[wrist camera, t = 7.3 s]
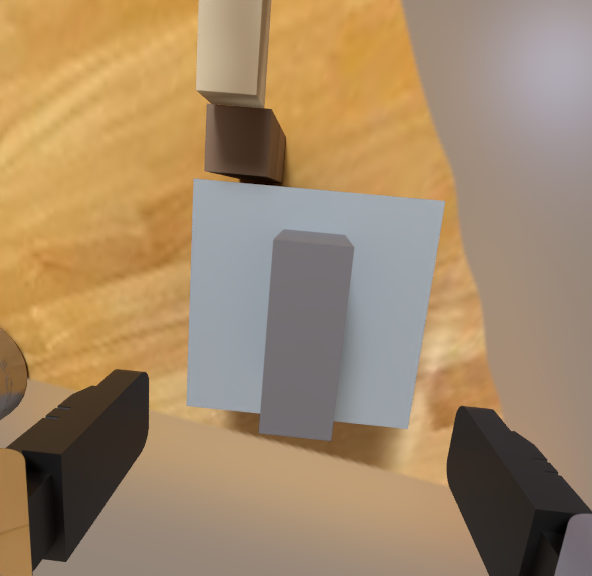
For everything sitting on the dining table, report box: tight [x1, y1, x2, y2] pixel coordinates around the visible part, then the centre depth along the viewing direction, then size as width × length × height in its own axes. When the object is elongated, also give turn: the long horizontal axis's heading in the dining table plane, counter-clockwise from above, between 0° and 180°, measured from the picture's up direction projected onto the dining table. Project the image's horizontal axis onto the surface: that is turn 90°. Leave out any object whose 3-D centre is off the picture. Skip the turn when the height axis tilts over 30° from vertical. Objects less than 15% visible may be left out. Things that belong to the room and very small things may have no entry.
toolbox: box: [204, 104, 286, 183], centre depth 25 cm, size 12×15×9 cm
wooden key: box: [196, 0, 271, 108], centre depth 17 cm, size 2×6×2 cm, turn 175°
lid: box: [187, 179, 445, 441], centre depth 20 cm, size 12×12×7 cm
